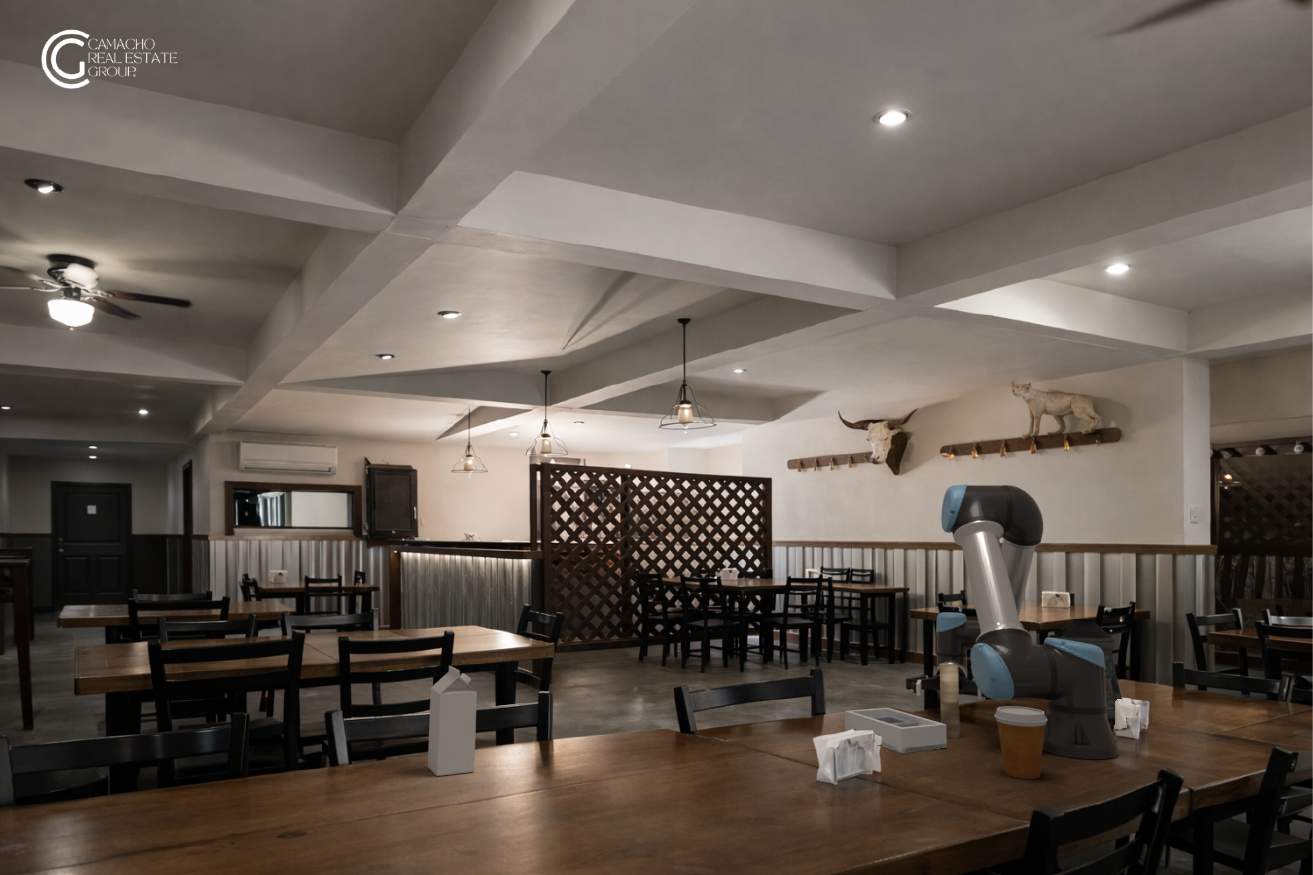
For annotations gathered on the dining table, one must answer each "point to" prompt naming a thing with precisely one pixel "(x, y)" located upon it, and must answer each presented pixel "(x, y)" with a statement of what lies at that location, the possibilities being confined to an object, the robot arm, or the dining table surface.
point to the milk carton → (452, 725)
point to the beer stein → (1096, 636)
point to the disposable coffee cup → (1021, 740)
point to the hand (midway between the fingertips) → (948, 691)
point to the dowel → (950, 699)
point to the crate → (899, 729)
